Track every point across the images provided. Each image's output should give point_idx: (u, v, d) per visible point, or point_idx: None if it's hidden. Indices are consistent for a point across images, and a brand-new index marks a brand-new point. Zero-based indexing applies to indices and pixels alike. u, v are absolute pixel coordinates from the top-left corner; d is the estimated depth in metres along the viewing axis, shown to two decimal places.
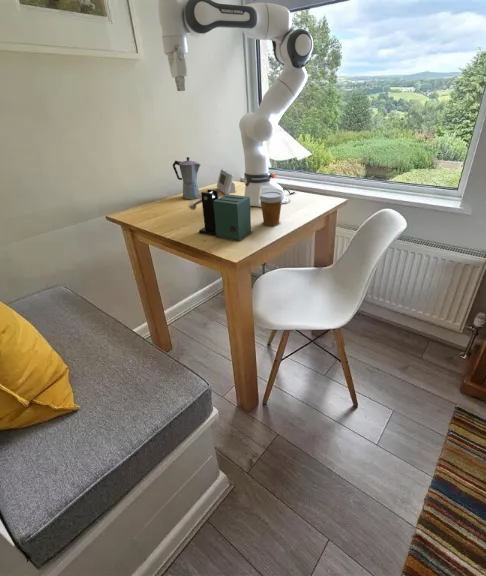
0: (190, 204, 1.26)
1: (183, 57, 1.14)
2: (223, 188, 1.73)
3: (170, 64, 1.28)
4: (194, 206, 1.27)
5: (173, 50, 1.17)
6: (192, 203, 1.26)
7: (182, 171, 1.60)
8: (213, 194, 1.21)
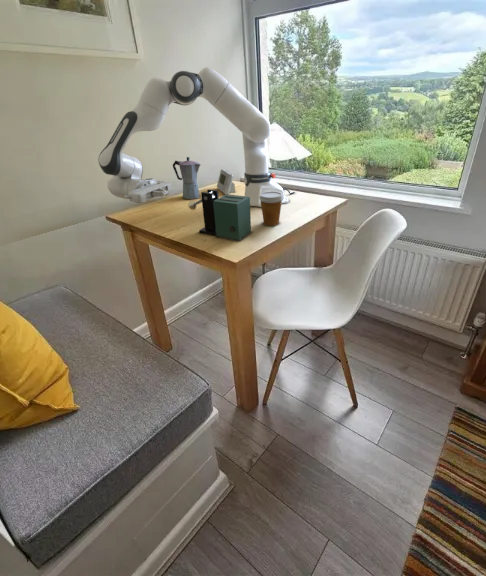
0: (190, 204, 1.26)
1: (129, 194, 1.27)
2: (223, 188, 1.73)
3: None
4: (194, 206, 1.27)
5: None
6: (192, 203, 1.26)
7: (182, 171, 1.60)
8: (213, 194, 1.21)
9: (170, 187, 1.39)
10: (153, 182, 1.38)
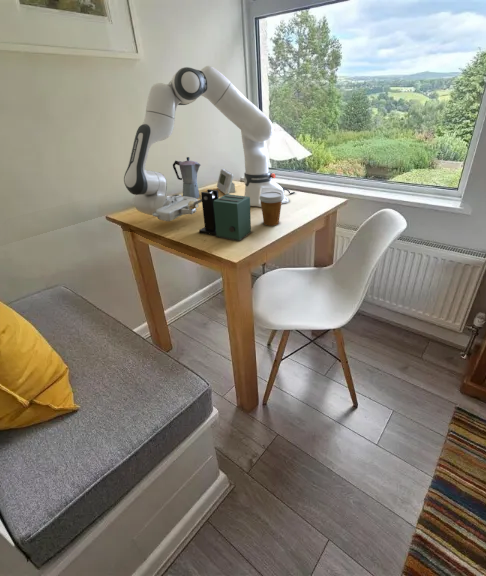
0: (190, 203, 1.26)
1: (157, 212, 1.25)
2: (223, 188, 1.73)
3: None
4: (194, 205, 1.26)
5: None
6: (192, 202, 1.26)
7: (182, 171, 1.60)
8: (213, 194, 1.21)
9: None
10: (180, 198, 1.36)
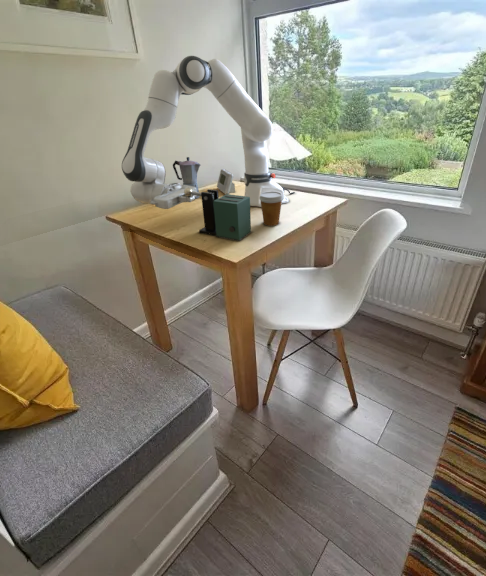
0: (187, 191, 1.24)
1: (155, 200, 1.22)
2: (223, 188, 1.73)
3: None
4: (190, 194, 1.25)
5: None
6: (189, 191, 1.24)
7: (182, 171, 1.60)
8: (213, 196, 1.22)
9: None
10: (178, 187, 1.33)
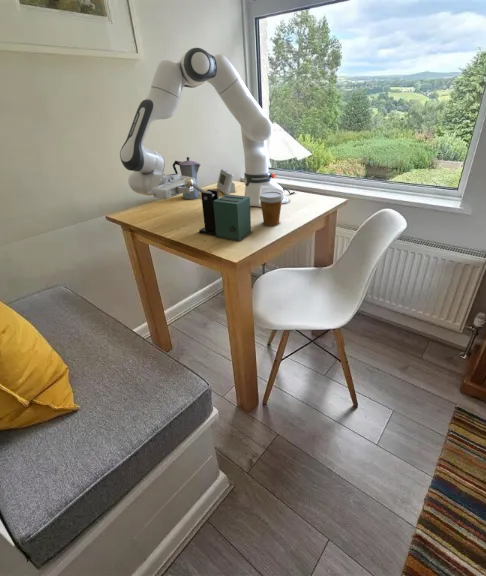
0: (188, 182, 1.22)
1: (153, 190, 1.20)
2: (223, 188, 1.73)
3: None
4: (190, 186, 1.23)
5: None
6: (190, 183, 1.22)
7: (182, 171, 1.60)
8: (213, 197, 1.22)
9: (194, 183, 1.32)
10: (176, 178, 1.31)
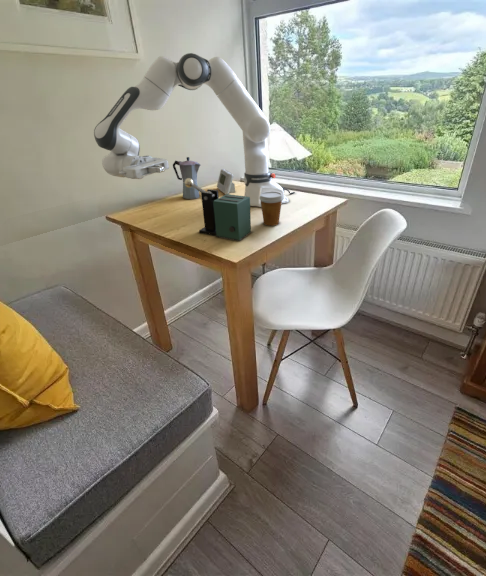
0: (188, 182, 1.22)
1: (124, 170, 1.22)
2: (223, 188, 1.73)
3: None
4: (190, 186, 1.23)
5: None
6: (190, 183, 1.22)
7: (182, 171, 1.60)
8: (213, 197, 1.22)
9: (167, 164, 1.34)
10: (149, 159, 1.33)
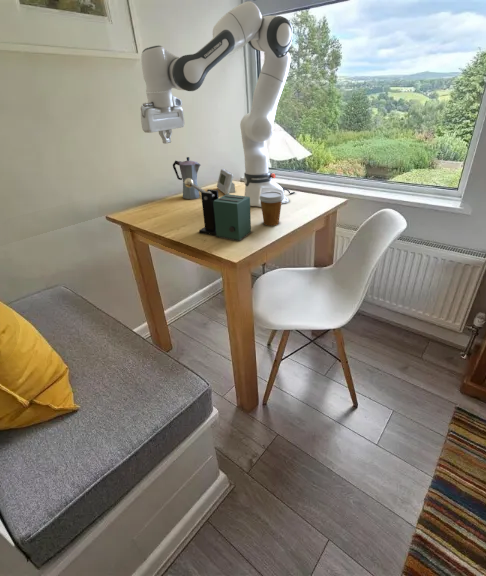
0: (188, 182, 1.22)
1: (146, 115, 1.11)
2: (223, 188, 1.73)
3: None
4: (190, 186, 1.23)
5: None
6: (190, 183, 1.22)
7: (182, 171, 1.60)
8: (213, 197, 1.22)
9: None
10: (176, 110, 1.21)
